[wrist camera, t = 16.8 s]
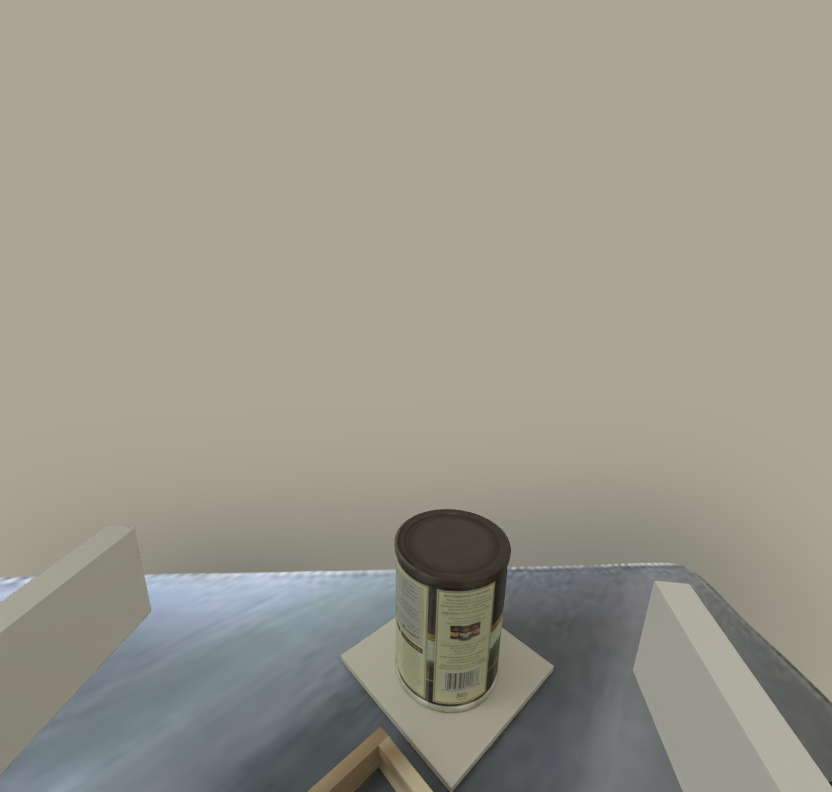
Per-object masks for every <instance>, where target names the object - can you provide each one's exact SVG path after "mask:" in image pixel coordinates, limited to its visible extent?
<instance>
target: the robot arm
mask: <svg viewBox="0 0 832 792" xmlns="http://www.w3.org/2000/svg"><path fill="white" fill-rule="evenodd" d="M150 612H151V607H150V602H149V597H148V592H147V587H146V582H145V577H144V572H143V567H142V562H141V557H140V552H139V547H138V543H137V537H136V532H135V528H130V527H120V526H110V525H108V526H107V527H105V528H104V529H103V530H101V531H100V532H98V533H97V534H96V535H94V536H93V537H91V538H90V539H89V540H87V541H86V542H84V543H83V544H81V545H80V546H79V547H77V548H76V549H74V550H73V551H72V552H70V553H69V554H68V555H66V556H65V557H63V558H62V559H61V560H59V561H58V562H56V563H55V564H54V565H52V566H51V567H49V568H48V569H47V570H45V571H44V572H42V573H41V574H40V575H38V576H37V577H35V578H34V579H32V580H31V581H30V582H28V583H27V584H25V585H24V586H23V587H21V588H20V589H18V590H17V591H16V592H14V593H13V594H11V595H10V596H9V597H7V598H6V599H4V600H3V601H2V602H0V775H1V774H2V772H3V771H4V770H5V769H6V768H7V767H8V766H9V765H10V764H11V763H12V762H13V761H14V759H15V758H16V757H17V756H18V755H19V754H20V753H21V752H22V751H23V750H24V749H25V748H26V746H27V745H28V744H29V743H30V742H31V741H32V740H33V739H34V738H35V737H36V736H37V735H38V733H39V732H40V731H41V730H42V729H43V728H44V727H45V726H46V725H47V724H48V723H49V722H50V720H51V719H52V718H53V717H54V716H55V715H56V714H57V713H58V712H59V711H60V710H61V709H62V707H63V706H64V705H65V704H66V703H67V702H68V701H69V700H70V699H71V698H72V697H73V696H74V694H75V693H76V692H77V691H78V690H79V689H80V688H81V687H82V686H83V685H84V684H85V683H86V681H87V680H88V679H89V678H90V677H91V676H92V675H93V674H94V673H95V672H96V671H97V670H98V668H99V667H100V666H101V665H102V664H103V663H104V662H105V661H106V660H107V659H108V658H109V657H110V655H111V654H112V653H113V652H114V651H115V650H116V649H117V648H118V647H119V646H120V645H121V644H122V642H123V641H124V640H125V639H126V638H127V637H128V636H129V635H130V634H131V633H132V632H133V631H134V629H135V628H136V627H137V626H138V625H139V624H140V623H141V622H142V621H143V620H144V619H145V618H146V616H147V615H148V614H149V613H150ZM633 672H634V674H635V677H636V679H637V682H638V684H639V686H640V689H641V691H642V694H643V696H644V699H645V701H646V703H647V706H648V708H649V711H650V713H651V716H652V718H653V720H654V723H655V725H656V728H657V730H658V733H659V735H660V737H661V740H662V742H663V745H664V747H665V750H666V752H667V754H668V757H669V759H670V762H671V764H672V767H673V769H674V771H675V774H676V776H677V779H678V781H679V784H680V786H681V788H682V791H683V792H832V782H828V781H827V779H826V778H825V776H824V775H823V774H822V772H821V771H820V769H819V768H818V767H817V765H816V764H815V762H814V761H813V759H812V758H811V757H810V755H809V754H808V752H807V751H806V749H805V748H804V747H803V745H802V744H801V742H800V741H799V739H798V738H797V737H796V735H795V734H794V732H793V731H792V730H791V728H790V727H789V725H788V724H787V722H786V721H785V720H784V718H783V717H782V715H781V714H780V712H779V711H778V710H777V708H776V707H775V705H774V704H773V702H772V701H771V700H770V698H769V697H768V695H767V694H766V693H765V691H764V690H763V688H762V687H761V685H760V684H759V683H758V681H757V680H756V678H755V677H754V675H753V674H752V673H751V671H750V670H749V668H748V667H747V665H746V664H745V663H744V661H743V660H742V658H741V657H740V656H739V654H738V653H737V651H736V650H735V648H734V647H733V646H732V644H731V643H730V641H729V640H728V638H727V637H726V636H725V634H724V633H723V631H722V630H721V628H720V627H719V626H718V624H717V623H716V621H715V620H714V619H713V617H712V616H711V614H710V613H709V611H708V610H707V609H706V607H705V606H704V604H703V603H702V601H701V600H700V599H699V597H698V596H697V594H696V593H695V591H694V590H693V589H692V587H691V586H690V584H682V583H673V582H663V581H654V585H653V589H652V593H651V597H650V602H649V606H648V610H647V614H646V618H645V623H644V627H643V631H642V635H641V639H640V643H639V648H638V652H637V656H636V660H635V664H634V669H633Z"/></svg>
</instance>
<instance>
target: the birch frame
mask: <svg viewBox="0 0 832 792" xmlns="http://www.w3.org/2000/svg"><path fill="white" fill-rule="evenodd" d="M378 768H379V769H380V770H381V772H382V773H383V774H384V776H385V777H386V779H387V780H388V781H389V783H390V784H391V785H392V787H393V788H394V790H395V791H396V792H433V791H432V790H431V789H430V787H429V786H428V785H427V784H426V782H425V781H424V780H423V779H422V777H421V776H420V775H419V774H418V772H417V771H416V770H415V769H414V767H413V766H412V765H411V764H410V762H409V761H408V760H407V759H406V757H405V756H404V755H403V753H402V752H401V751H400V750H399V748H398V747H397V746H396V745H395V743H394V742H393V741H392V740H391V738H390V737H389V736H388V735H387V733H386V732H385V731H384V730H383V728H382V727H381V726H380V727H379V728H378V729H377V730H376V731H375V732H374V733H372V734H371V735H370V736H369V737H368V738H367V739H366V740H365V741H363V742H362V743H361V744H360V745H359V746H358V747H357V748H356V749H355V750H353V751H352V752H351V753H350V754H349V755H348V756H347V757H346V758H345V759H343V760H342V761H341V762H340V763H339V764H338V765H337V766H336V767H334V768H333V769H332V770H331V771H330V772H329V773H328V774H327V775H326V776H324V777H323V778H322V779H321V780H320V781H319V782H318V783H317V784H315V785H314V786H313V787H312V788H311V789H310V790H309V791H308V792H354V791H355V790H356V789H357V788H358V787H359V786H360V785H361V784H362V783H364V782H365V781H366V780H367V779H368V778H369V777H370V776H371V775H372V774H373V773H374V772H375V771H376V770H377V769H378Z"/></svg>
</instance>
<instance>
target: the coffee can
mask: <svg viewBox="0 0 832 792" xmlns="http://www.w3.org/2000/svg"><path fill="white" fill-rule="evenodd" d="M395 552H396V654H395V667H396V673H397V676H398V678H399V681H400V683H401V685H402V686H403V687H404V689H405V691H406V692H407V693H408V694H409V695H410V696H411V697H412V698H413V699H414V700H416V701H417V702H419V703H420V704H422V705H424V706H426V707H428V708H430V709H433V710H436V711H441V712H460V711H465V710H468V709H471V708H473V707H475V706H477V705H479V704H480V703H481V702H483V701H484V700H485V699H486V698H487V697H488V696H489V694H490V693H491V692H492V690H493V688H494V686H495V684H496V681H497V677H498V658H499V647H500V638H501V628H502V617H503V606H504V598H505V587H506V576H507V566H508V563H509V559H510V554H511V547H510V543H509V540H508V538H507V536H506V534H505V533H504V532H503V531H502V529H500V528H499V527H498V526H497V525H496V524H494V523H493V522H491V521H489V520H488V519H486V518H484V517H482V516H480V515H477V514H474V513H471V512H466V511H461V510H452V509H447V510H446V509H442V510H432V511H428V512H424V513H421V514H418V515H416V516H413V517H412V518H410V519H408V520H407V521H406V522H404V523H403V524H402V525H401V527H400V528H399V529H398V531H397V533H396V536H395Z"/></svg>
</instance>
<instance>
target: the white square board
mask: <svg viewBox="0 0 832 792" xmlns="http://www.w3.org/2000/svg"><path fill="white" fill-rule="evenodd" d="M395 654H396V617H395V618H394V619H392V620H391V621H389V622H388V623H386V624H385V625H384V626H382V627H381V628H379V629H378V630H376V631H375V632H373V633H372V634H371V635H369V636H368V637H366V638H365V639H363V640H362V641H361V642H359V643H358V644H356V645H355V646H353V647H352V648H351V649H349V650H348V651H346V652H345V653H343V654H342V655H340V657H341V661H342V662H343V664H344V665H345V666H346V667H347V668H348V670H349V671H350V672H351V673H352V675H353V676H354V677H355V678H356V679H357V681H358V682H359V683H360V684H361V685H362V687H363V688H364V689H365V690H366V691H367V693H368V694H369V695H370V696H371V697H372V699H373V700H374V701H375V702H376V703H377V705H378V706H379V707H380V708H381V710H382V711H383V712H384V713H385V714H386V716H387V717H388V718H389V719H390V720H391V722H392V723H393V724H394V725H395V726H396V728H397V729H398V730H399V731H400V732H401V734H402V735H403V736H404V737H405V739H406V740H407V741H408V742H409V743H410V745H411V746H412V747H413V748H414V749H415V751H416V752H417V753H418V754H419V755H420V757H421V758H422V759H423V760H424V761H425V763H426V764H427V765H428V766H429V767H430V769H431V770H432V771H433V772H434V774H435V775H436V776H437V777H438V778H439V780H440V781H441V782H442V783H443V784H444V786H445V787H446V788H447V789H448V790H449V792H453V791H454V789H455V788H456V787H457V786H458V785H459V783H460V782H461V781H462V780H463V779H464V777H465V776H466V775H467V774H468V773H469V771H470V770H471V769H472V768H473V767H474V765H475V764H476V763H477V762H478V761H479V759H480V758H481V757H482V756H483V755H484V753H485V752H486V751H487V750H488V749H489V747H490V746H491V745H492V744H493V743H494V741H495V740H496V739H497V738H498V737H499V735H500V734H501V733H502V732H503V731H504V729H505V728H506V727H507V726H508V725H509V723H510V722H511V721H512V720H513V719H514V717H515V716H516V715H517V714H518V713H519V711H520V710H521V709H522V708H523V707H524V705H525V704H526V703H527V702H528V701H529V699H530V698H531V697H532V696H533V695H534V693H535V692H536V691H537V690H538V689H539V687H540V686H541V685H542V684H543V683H544V681H545V680H546V679H547V678H548V677H549V675H550V674H551V673H552V672H553V669H554V666H553V665H552V664H550V663H549V662H548V661H546V660H545V659H544V658H542V657H541V656H540V655H538V654H537V653H536V652H534V651H533V650H532V649H530V648H529V647H528V646H526V645H525V644H524V643H522V642H521V641H520V640H518V639H517V638H516V637H514V636H513V635H511V634H510V633H509V632H507V631H506V630H505V629H503V628H501V638H500V647H499V658H498V677H497V681H496V684H495V686H494V688H493V690H492V692H491V693H490V694H489V696H488V697H487V698H486V699H485V700H484V701H483V702H481V703H480V704H479V705H477V706H475V707H473V708H471V709H468V710H465V711H460V712H441V711H436V710H433V709H430V708H428V707H426V706H424V705H422V704H420V703H419V702H417V701H416V700H414V699H413V698H412V697H411V696H410V695H409V694H408V693H407V692H406V691H405V689H404V687H403V686H402V685H401V683H400V681H399V678H398V676H397V673H396V667H395Z"/></svg>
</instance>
